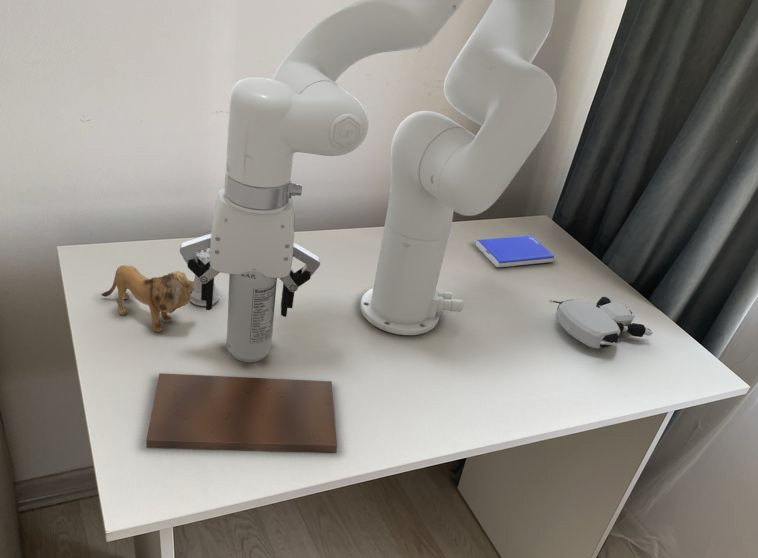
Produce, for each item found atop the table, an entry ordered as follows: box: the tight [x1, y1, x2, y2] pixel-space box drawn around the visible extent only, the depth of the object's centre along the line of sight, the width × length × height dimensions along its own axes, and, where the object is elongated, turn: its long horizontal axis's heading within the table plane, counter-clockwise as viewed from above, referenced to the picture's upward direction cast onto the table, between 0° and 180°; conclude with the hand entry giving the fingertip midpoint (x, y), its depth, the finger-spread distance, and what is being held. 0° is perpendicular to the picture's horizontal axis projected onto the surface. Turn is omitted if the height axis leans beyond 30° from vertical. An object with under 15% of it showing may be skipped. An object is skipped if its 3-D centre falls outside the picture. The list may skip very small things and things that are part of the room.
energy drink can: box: [226, 269, 278, 363], centre depth 97 cm, size 6×6×15 cm
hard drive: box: [475, 234, 555, 268], centre depth 138 cm, size 2×8×12 cm
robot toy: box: [548, 295, 653, 349], centre depth 120 cm, size 12×4×15 cm
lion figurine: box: [100, 264, 195, 333], centre depth 101 cm, size 15×5×9 cm, turn 70°
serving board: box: [145, 372, 338, 453], centre depth 91 cm, size 22×12×1 cm, turn 98°
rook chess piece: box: [189, 249, 220, 307], centre depth 107 cm, size 4×4×8 cm
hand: (246, 307), depth 97 cm, fingers open, 9 cm apart
